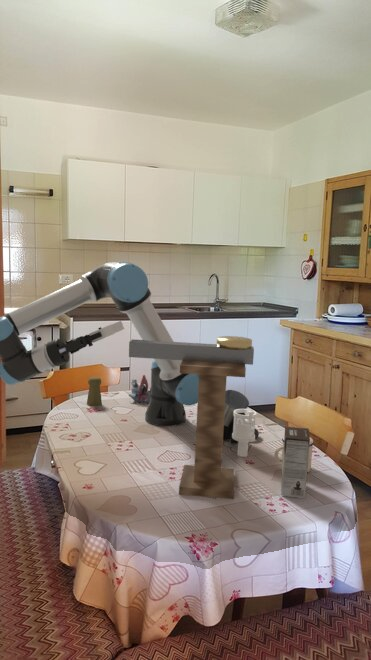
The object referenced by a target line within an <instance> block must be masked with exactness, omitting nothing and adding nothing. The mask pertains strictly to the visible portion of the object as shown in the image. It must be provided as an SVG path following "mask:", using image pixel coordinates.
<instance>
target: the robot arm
mask: <svg viewBox="0 0 371 660" xmlns="http://www.w3.org/2000/svg"><path fill="white" fill-rule="evenodd" d="M151 296H152V292H151V290H150V289H149V280H148V276H147V274H146V272H145V271H144V269H142V268H141V267H140V266H139V265H136V264H134V263H131V262H127V261H126V262H125V261H123V262H118V261H109V262H106V263H103V264H102V265H100V266H98V267H96V268H94V269H92V270H90V271H88V272H86V273H84V274H82V275H80V277H79V280H76V281H75V282H73V283H71V284H69V285H66V286H64V287H62V288H60V289H58V290H56V291H53V292H51V293H49V294H46V295H44V296H42V297H41V298H39V299H38V298H37V299H36V300H34V301H32V302H30V303H28V304H26V305H23V306H22V307H18V308H17V309H15V310H12V311H10V312H9V313H7V314H4V315H2V316H0V361H1V362H0V378H1V380H2V381H3V382H4V383H5V384H7V385H9V386H13V385H16V384H19V383H23V382H25V381H27V380H29V379H32V378H34V377H36V376H38V375H41V374H43V373H45V372H46V373H51V370H53V369H54V368H56V367H59V366H60V367H61V366H63V365H65V364H67V363H69V361H70V355H73V354H75V353H77V352H79V351H80V350H82V349H84V348H86V347H87V346H88V347H89V348H90V347H92V346H94V344H93V343H96V342H98V341H101V340H104V339H106V338H108V337H110V336H113V335H115V334H116V333H118V332H121V331H123V330H125V327H124V325H123V322H122V320H119V321H117V322H114V323H112V324H109V325H106V326H104V327H101V326H100V327H98V328H97V330H95V331H92V332H90V333H88V334H85V335H84V336H81V335H80V336H79V337H76V338H70V339H68V340H66V341H65V343H64V341H63V340H62V339H61V338H55V339H53V340H50V341H48V342H46V343H43V344H40V345H38V346H35V347H34V348H32V349H29V350H27V348H26V346H25V345H24V344H23V341H22V340H21V338H20V336H21V335H23V334H24V333H27V332H28V331H31V330H32V329H35V328H37V327H39V326H41V325H43V324H45V323H47V322H49V321H51V320H53V319H55V318H58V317H60V316H62V315H63V314H65V313H66V314H67V312H70V311H72V310H74V309H76V308H79V307H80V306H82V305H84V304H86V303H88V302H93V303H96V302H98V301H100V300H103V299H106V298H107V299H108V298H111V299H112V301H113V303H114V305H115V306H116V307H117V308H116V309H118V311H119V312H120V313H124V314H126V315H127V317H128V319H129V320H130V322H131V323H132V325H133V327H134V328H135V330H136V332H137V333H138V335H139V336H140V338H141V340H150V341H168V342H175V341H174V339H173V338H172V336H171V334H170V332H169V331H168V330H167V328H166V325H165V324H164V323H163V321H162V319H161V317H160V315H159V314H158V311H157V310H156V309H155V307H154V305H153V303H152V301H151ZM181 362H182V360H168V359H154V360H152V363H151V369H150V371H151V374H150V376H151V378H150V388H151V399H150V402H149V403H148V405H147V408H146V411H145V414H144V415H145V416H144V417H145V418H144V420H145V421H146V422H147V423H149V424H152V425H155V426H161V427H172V426H178V425H179V426H180V425H182V424H184V423H185V422H186V420H187V413H186V409H185V406H193V405H196V404H198V385H199V374H184V373H180V364H181Z"/></svg>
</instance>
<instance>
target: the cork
mask: <svg viewBox="0 0 371 660" xmlns="http://www.w3.org/2000/svg"><path fill="white" fill-rule="evenodd" d="M87 381H88V382H87V384H88V386H89V387H88V393H87V401H86V405H87V406H88V407H89V406H90V407H98V406H101V405H102V392H101V385H102V379H101V377H99V376H91V377H89V378H88V380H87Z"/></svg>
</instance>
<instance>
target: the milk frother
mask: <svg viewBox="0 0 371 660" xmlns="http://www.w3.org/2000/svg"><path fill="white" fill-rule="evenodd" d="M249 406H250V401H249V399H248V397H247V396H246V395H244V394H243V393H242V392H240V391H238V390H236V389H235V390H234V389H226V395H225V413H224V431H223V441H229V443H230V444H231V445H238V441H236V440H234V439H233V438H232V433H233V426H234V415H233V413H234V410H236V409H249V408H248V407H249ZM237 414H240V415H246V413H237ZM254 434H255V440H256V439H257V438H259V436H260V431H259V430H258V429H257V428H255V430H254Z"/></svg>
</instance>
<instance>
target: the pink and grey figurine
mask: <svg viewBox="0 0 371 660" xmlns="http://www.w3.org/2000/svg"><path fill="white" fill-rule="evenodd" d="M130 384H131V385H132V386H131V393H130V394H128V397H130V398H131V399H132V401H134V402H135V403H143V404H149V402H150V399H151V387H150V388H149V383H148V379H147V378H146V375H145V374H143V375H142V378H141V380H140V383H138V382H137V379H134V378H133V379H132V380H131V382H130Z"/></svg>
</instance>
